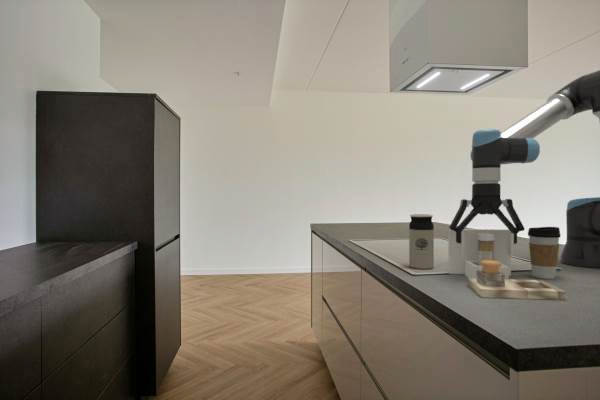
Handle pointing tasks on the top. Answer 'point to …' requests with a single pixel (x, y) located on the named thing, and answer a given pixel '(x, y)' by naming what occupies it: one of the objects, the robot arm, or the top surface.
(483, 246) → the sprinkles bottle
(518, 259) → the top surface
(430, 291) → the top surface
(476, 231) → the tall white box
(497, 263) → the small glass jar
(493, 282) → the socket block
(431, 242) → the travel mug
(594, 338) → the top surface
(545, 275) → the coffee cup
